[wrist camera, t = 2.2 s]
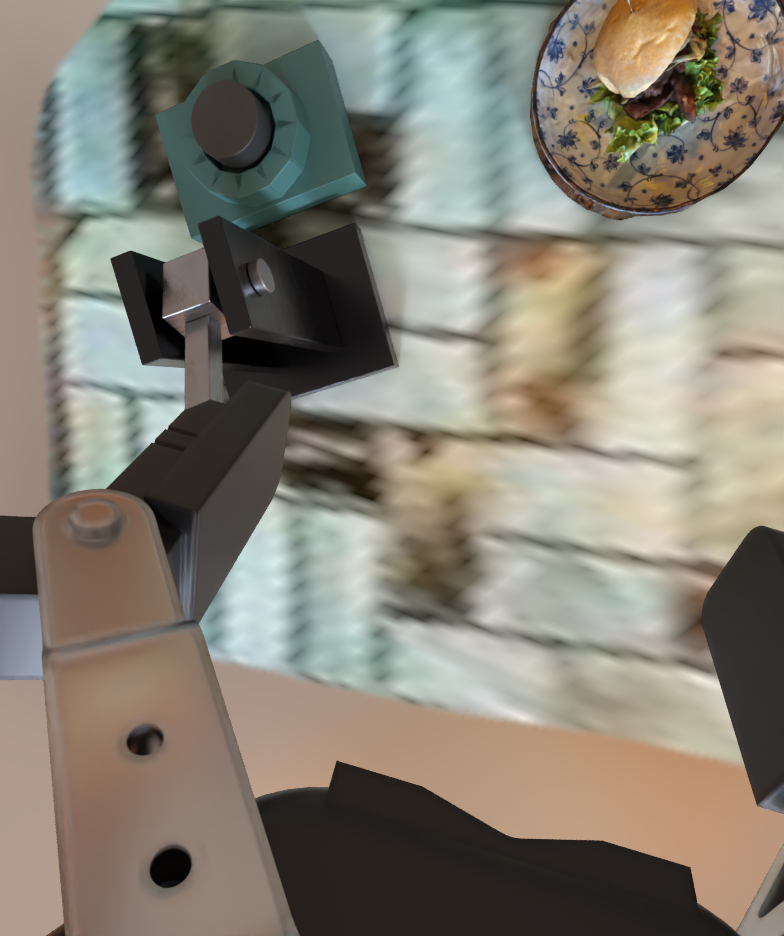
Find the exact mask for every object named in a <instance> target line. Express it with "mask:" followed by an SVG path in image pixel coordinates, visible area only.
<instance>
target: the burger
mask: <svg viewBox="0 0 784 936" xmlns="http://www.w3.org/2000/svg"><path fill="white" fill-rule="evenodd" d="M537 60H538V61H537V65H536V70H535V73H534V79H533V87H532V92H531V110H530V118H531V125H532V132H533V139H534V142H535V145H536V148H537V151H538V154H539V156H540V159H541V162H542V163H543V165H544V167H545V168H546V170H547V172H548V173H549V175H550V176H551V178H552V180H553V181H554V182H555V183H556V184H557V185H558V186H559V188H560V189H561V190H562V191H563V192H564V193H565V194H566V195H567V196H568V197H569V198H571V199H572V200H574V201H575V202H577V203H578V204H579V205H581V206H582V207H584V208H585V209H587V210H591V211H593V212H596V213H599V214H601V215H602V216H605V217H607V218H610V219H615V220H624V219H628V218H632V217H635V216H653V215H657V216H658V215H666V214H671V213H676V212H680V211H684V210H685V209H687V208H689V207H690V206H692V205H694V204H696V203H697V202H699V201H701V200H703V199H704V198H706V197H708V196H711V195H713V194H715V193H718V192H719V191H721V190H723V189H725V188H726V187H727V186H728V185H730V184H731V183H732V182H733V181H735V180H736V179H737V178H738V177H739V176H740V175H742V174H743V173H744V172H745V171H746V170H747V169H748V168H749V167H750V166H751V165H752V164H753V163H754V161H755V160H756V159H757V158H758V156H759V155H760V154H761V153H762V151H763V150H764V149H765V147H766V146H767V144H768V143H769V142H770V140H771V139H772V137H773V136H774V135H775V133H776V132H777V130H778V129H779V128H780V126H781V124H782V122H783V121H784V0H570V1H569V3H568V4H567V6H566V7H565V8H564V9H563V10H562V12H561V13H560V14H559V15H558V16H557V18H556V19H555V20H554V21H553V22H552V23H551V25H550V29H549V33H548V35H547V37H546V39H545V41H544V43H543V45H542V48H541V50H540V52H539V55H538V59H537Z"/></svg>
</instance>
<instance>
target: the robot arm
mask: <svg viewBox="0 0 784 936" xmlns="http://www.w3.org/2000/svg"><path fill="white" fill-rule="evenodd" d="M290 410H291V393H290V392H288V391H285V390H281V389H277V388H274V387H270V386H267V385H263V384H260V383H256V382H253V381H246V382H245V383H244V384H243V385H242V386H241V387H240V388H239V390H238V391H237V392H236V393H235V394H234V395H233V396H232V397H231V398H230V400H229V401H228V402H227V403H226V404H225V403H221V402H218V401H214V400H211V399H210V400H208V401H205V402H203V403H200V404H198V405H195V406H193V407H191V408H188V409H186V410H184V411H183V412H182V413H181V414H180V415H179V416H178V417H177V418H176V419H175V420H174V421H173V422H172V423H171V424H170V425H169V427H168V430H166V429H165V430H164V431H163V432H162V433H161V434H160V435H159V436H158V437H157V438H156V439H155V443H151V444H150V445H149V446H148V447H147V448H146V449H145V450H144V451H143V452H142V453H141V454H140V455H139V456H138V457H137V458H136V459H135V460H134V461H133V462H132V463H131V464H130V465H129V466H128V467H127V468H126V469H125V470H124V471H123V472H122V473H121V474H120V475H119V476H118V477H117V478H116V479H115V480H114V481H113V482H112V483H111V484H110V485H109V486H108V487H107V488H106V489H91V490H83V491H78V492H74V493H70V494H68V495H65V496H62V497H60V498H58V499H56V500H54V501H52V502H51V503H49V504H48V505H47V506H45V507H44V508H43V509H42V510H41V511H40V512H39V514H38V515H37V517H17V516H0V680H43V681H44V692H45V705H46V716H47V728H48V740H49V752H50V763H51V775H52V787H53V798H54V810H55V820H56V821H55V822H56V834H57V844H58V856H59V869H60V881H61V892H62V903H63V916H64V924H62V925H61V926H60V927H58V928H57V929H55V930H54V931H52V932H51V933H49V934H48V935H47V936H784V843H783V845H782V847H781V849H780V851H779V853H778V855H777V856H776V858H775V860H774V862H773V864H772V866H771V868H770V870H769V871H768V873H767V875H766V877H765V879H764V880H763V883H762V884H761V886H760V888H759V890H758V892H757V894H756V896H755V897H754V899H753V901H752V903H751V905H750V907H749V909H748V910H747V912H746V914H745V916H744V918H743V920H742V922H741V923H740V925H739V927H738V929H737V930H736V931H735V930H734V929H732V928H731V927H730V926H729V925H728V924H727V923H725V922H724V921H722V920H721V919H720V918H718V917H717V916H715V915H714V914H713V913H711V912H710V911H709V910H707V909H706V908H704V907H703V906H701V905H700V904H698V903H697V898H696V893H695V888H694V883H693V879H692V874H691V869H690V867H687V866H684V865H681V864H678V863H674V862H671V861H668V860H665V859H661V858H658V857H654V856H651V855H648V854H645V853H641V852H638V851H635V850H631V849H628V848H625V847H621V846H618V845H615V844H611V843H608V842H605V841H594V840H554V839H519V838H513V837H510V836H507V835H505V834H503V833H501V832H499V831H497V830H496V829H494V828H492V827H491V826H489V825H487V824H486V823H484V822H482V821H480V820H479V819H477V818H475V817H474V816H472V815H470V814H468V813H466V812H465V811H463V810H462V809H460V808H458V807H456V806H455V805H453V804H451V803H450V802H448V801H446V800H444V799H443V798H441V797H439V796H438V795H436V794H434V793H432V792H431V791H429V790H427V789H426V788H424V787H422V786H419V785H416V784H412V783H409V782H406V781H402V780H399V779H396V778H392V777H389V776H386V775H382V774H379V773H376V772H372V771H369V770H366V769H362V768H359V767H356V766H353V765H349V764H346V763H342V762H339V761H337V762H336V765H335V768H334V772H333V775H332V779H331V782H330V786H329V787H307V788H297V789H288V790H283V791H279V792H275V793H270V794H266V795H263V796H260V797H258V798H254V794H253V791H252V788H251V785H250V782H249V779H248V775H247V772H246V769H245V766H244V763H243V759H242V756H241V753H240V750H239V747H238V744H237V740H236V738H235V734H234V731H233V728H232V725H231V721H230V718H229V715H228V712H227V709H226V705H225V702H224V699H223V696H222V693H221V689H220V686H219V683H218V680H217V677H216V674H215V670H214V667H213V664H212V661H211V658H210V654H209V651H208V648H207V645H206V642H205V639H204V636H203V633H202V630H201V628H200V626H199V622H200V621H201V619H202V617H203V616H204V614H205V612H206V611H207V609H208V607H209V605H210V604H211V602H212V600H213V599H214V597H215V595H216V594H217V592H218V590H219V589H220V587H221V585H222V583H223V582H224V580H225V578H226V577H227V575H228V573H229V572H230V570H231V568H232V567H233V565H234V563H235V562H236V560H237V558H238V556H239V555H240V553H241V551H242V550H243V548H244V546H245V545H246V543H247V541H248V540H249V538H250V536H251V534H252V533H253V531H254V529H255V528H256V526H257V524H258V523H259V521H260V519H261V518H262V516H263V514H264V513H265V511H266V509H267V507H268V506H269V504H270V502H271V501H272V499H273V496H274V494H275V492H276V489H277V486H278V483H279V480H280V476H281V472H282V466H283V459H284V452H285V445H286V438H287V431H288V424H289V417H290ZM702 625H703V629H704V633H705V636H706V639H707V643H708V646H709V649H710V652H711V656H712V659H713V662H714V666H715V669H716V672H717V675H718V679H719V682H720V685H721V689H722V692H723V695H724V698H725V702H726V705H727V708H728V712H729V715H730V718H731V722H732V725H733V728H734V731H735V735H736V738H737V741H738V745H739V748H740V751H741V754H742V758H743V761H744V764H745V768H746V771H747V774H748V777H749V781H750V784H751V787H752V791H753V794H754V797H755V801H756V804H757V806H759V807H762V808H765V809H769V810H772V811H776V812H779V813H782V814H784V532H783V531H779V530H776V529H772V528H769V527H765V526H758V527H755V528H754V529H752V530H751V531H750V532H749V533H748V534H747V536H746V537H745V538H744V540H743V541H742V543H741V544H740V546H739V547H738V549H737V550H736V551H735V553H734V554H733V556H732V557H731V559H730V560H729V562H728V563H727V565H726V566H725V568H724V569H723V570H722V572H721V573H720V575H719V576H718V578H717V579H716V581H715V582H714V584H713V585H712V587H711V588H710V590H709V591H708V593H707V595H706V598H705V601H704V604H703V609H702Z"/></svg>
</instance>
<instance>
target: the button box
mask: <svg viewBox="0 0 784 936" xmlns="http://www.w3.org/2000/svg"><path fill="white" fill-rule="evenodd" d="M221 80H232V81H236V82H238V83H240V84H242V85H244V86H245V87H246V88H247V89H248V90H249V91H250V92H251V93H252V94H253V95H254V96H255V97H256V98H257V99H258V100H259V101H260V102H261V103H262V104H263V105H264V107H265V108H266V109H267V111H268V113H269V116H270V119H271V124H272V136H271V141H270V144H269V147H268V149H267V151H266V152H265V154H264V155H263V157H262V158H261V159H260V160H259V161H258V162H256V163H255V164H253V165H251V166H249V167H246V168H242V169H234V168H230V167H227V166H225V165H223V164H222V163H220V162H219V161H217V160H216V159H214V158H213V157H212V156H210V155H209V154H207V153H206V152H205V151H204V150H202V148H201V147H200V146H199V145H198V143H197V142H196V140H195V138H194V135H193V132H192V126H191V115H192V110H193V106H194V104H195V101H196V99H197V98H198V96H199V95H200V93H201V92H202V91H203V90H204V89H205V88H206V87H208V86H209V85H211V84H212V83H215V82H217V81H221ZM155 116H156V120H157V123H158V126H159V130H160V133H161V137H162V140H163V144H164V147H165V150H166V154H167V157H168V161H169V164H170V167H171V171H172V174H173V178H174V181H175V184H176V188H177V191H178V195H179V198H180V201H181V205H182V208H183V212H184V215H185V219H186V222H187V225H188V229H189V232H190V236H191V238H192V239H194V240H197V241H199V242H201V243H203V242H202V238H201V235H200V232H199V228H198V224H199V223H201V222H203V221H206V220H208V219H211V218H213V217H216V216H221V217H223V218H225V219H227V220H228V221H230V222H232V223H234V224H236V225H238V226H239V227H241V228H243V229H245V230H247V231H252V230H255V229H257V228H260V227H262V226H265V225H267V224H270V223H273V222H275V221H278V220H280V219H283V218H285V217H288V216H290V215H293V214H296V213H298V212H301V211H303V210H306V209H308V208H311V207H314V206H316V205H319V204H321V203H324V202H326V201H329V200H332V199H334V198H337V197H339V196H342V195H344V194H347V193H350V192H352V191H355V190H357V189H360V188H362V187H365V186H366V181H365V177H364V174H363V170H362V167H361V163H360V159H359V156H358V152H357V149H356V145H355V141H354V138H353V134H352V131H351V127H350V123H349V120H348V116H347V113H346V109H345V105H344V102H343V98H342V95H341V91H340V88H339V84H338V80H337V77H336V73H335V70H334V66H333V62H332V60H331V58H330V57H329V55H328V54H327V52H326V51H325V49H324V47H323V46H322V44H321V43H320V41H319V40H317V41H314V42H312V43H310V44H308V45H306V46H304V47H301V48H299V49H297V50H295V51H293V52H291V53H288V54H286V55H284V56H282V57H280V58H278V59H275V60H273V61H271V62H269V63H267V64H264V65H261V64H255V63H249V62H242V61H236V60H235V61H231V62H228V63H226V64H224V65H222V66H220V67H218V68H216V69H213V70H211V71H209V72H207V73H205V75H203V76H202V78H201V79H200V80H199V82H198V83H197V85H196V86H195V87H194V89H193V90H192V92H191V93H190V94H189V96H188V97H187V99H186V100H185V101H184V102H182V103H180V104H178V105H175V106H173V107H171V108H169V109H167V110H165V111H162V112H160V113H158V114H156V115H155Z"/></svg>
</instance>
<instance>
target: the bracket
mask: <svg viewBox="0 0 784 936" xmlns="http://www.w3.org/2000/svg"><path fill="white" fill-rule="evenodd" d="M198 228H199V232H200V235H201V238H202V242H203V245H204V249H205V252H206V256H207V259H208V262H209V266H210V269H211V273H212V276H213V280H214V283H215V286H216V290H217V293H218V297H219V300H220V303H221V307H222V310H223V314H224V317H225V321H226V324H227V327H228V331H229V334H230V335H235V336H232V337H229V338H226V339H223V340H222V370H223V377H224V380H225V384H226V387H227V391H228V394H229V397H230V398H231V397H232V396H233V395H234V394H235V393H236V392H237V391H238V390H239V388H240V387H241V386H242V385H243V384H244V383H245V382H246V381H253V382H256V383H260V384H263V385H267V386H270V387H274V388H277V389H281V390H285V391H288V392H290V393H291V400H293V399H296V398H299V397H303V396H306V395H309V394H312V393H315V392H319V391H322V390H325V389H328V388H332V387H335V386H338V385H341V384H344V383H348V382H351V381H354V380H357V379H361V378H364V377H367V376H370V375H374V374H377V373H380V372H383V371H386V370H390V369H393V368H396V367H398V366H399V365H398V362H397V358H396V354H395V351H394V347H393V344H392V340H391V337H390V333H389V329H388V326H387V322H386V319H385V315H384V311H383V308H382V304H381V301H380V297H379V294H378V290H377V286H376V283H375V279H374V276H373V272H372V269H371V265H370V261H369V258H368V254H367V251H366V247H365V244H364V240H363V236H362V233H361V229H360V228H359V227H358V226H357V225H356V224H355V223H352V224H349V225H347V226H344V227H342V228H339V229H336V230H334V231H331V232H328V233H326V234H323V235H320V236H318V237H315V238H312V239H310V240H307V241H304V242H302V243H299V244H296V245H294V246H291V247H288V248H286V249H283V250H282V249H280V248H278V247H276V246H275V245H273V244H271V243H269V242H267V241H265V240H263V239H262V238H260V237H258V236H256V235H254V234H252V233H251V232H249V231H247V230H245V229H243V228H241V227H239V226H238V225H236V224H234V223H232V222H230V221H228V220H227V219H225V218H223V217H221V216H216V217H213V218H211V219H208V220H206V221H203V222H201V223H199V224H198ZM111 263H112V266H113V269H114V273H115V276H116V279H117V283H118V286H119V289H120V293H121V296H122V299H123V303H124V306H125V309H126V313H127V316H128V319H129V323H130V326H131V329H132V333H133V336H134V339H135V343H136V346H137V349H138V353H139V356H140V359H141V363H142V365H148V366H163V367H178V368H185V337H184V336H183V335H182V334H180V333H179V332H178V331H177V330H176V329H175V328H173V327H172V326H171V325H170V324H169V323H168V322H167V321H165V320H164V319H163V318H162V293H163V264H164V263H166V262H163V261H160V260H157V259H154V258H151V257H148V256H145V255H142V254H139V253H136V252H133V251H128V252H125V253H123V254H120V255H118V256H115V257H113V258H111Z"/></svg>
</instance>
